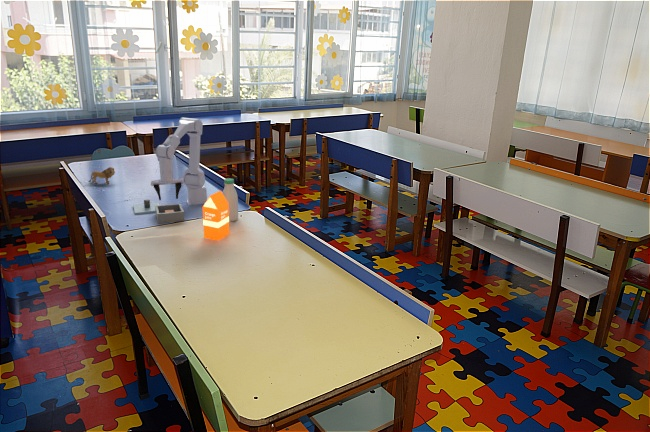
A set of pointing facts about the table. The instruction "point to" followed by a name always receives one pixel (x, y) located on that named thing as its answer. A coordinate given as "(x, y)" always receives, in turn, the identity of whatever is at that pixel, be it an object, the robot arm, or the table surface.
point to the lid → (145, 207)
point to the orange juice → (216, 217)
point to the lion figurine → (103, 174)
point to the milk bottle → (231, 199)
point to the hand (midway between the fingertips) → (168, 198)
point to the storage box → (169, 213)
